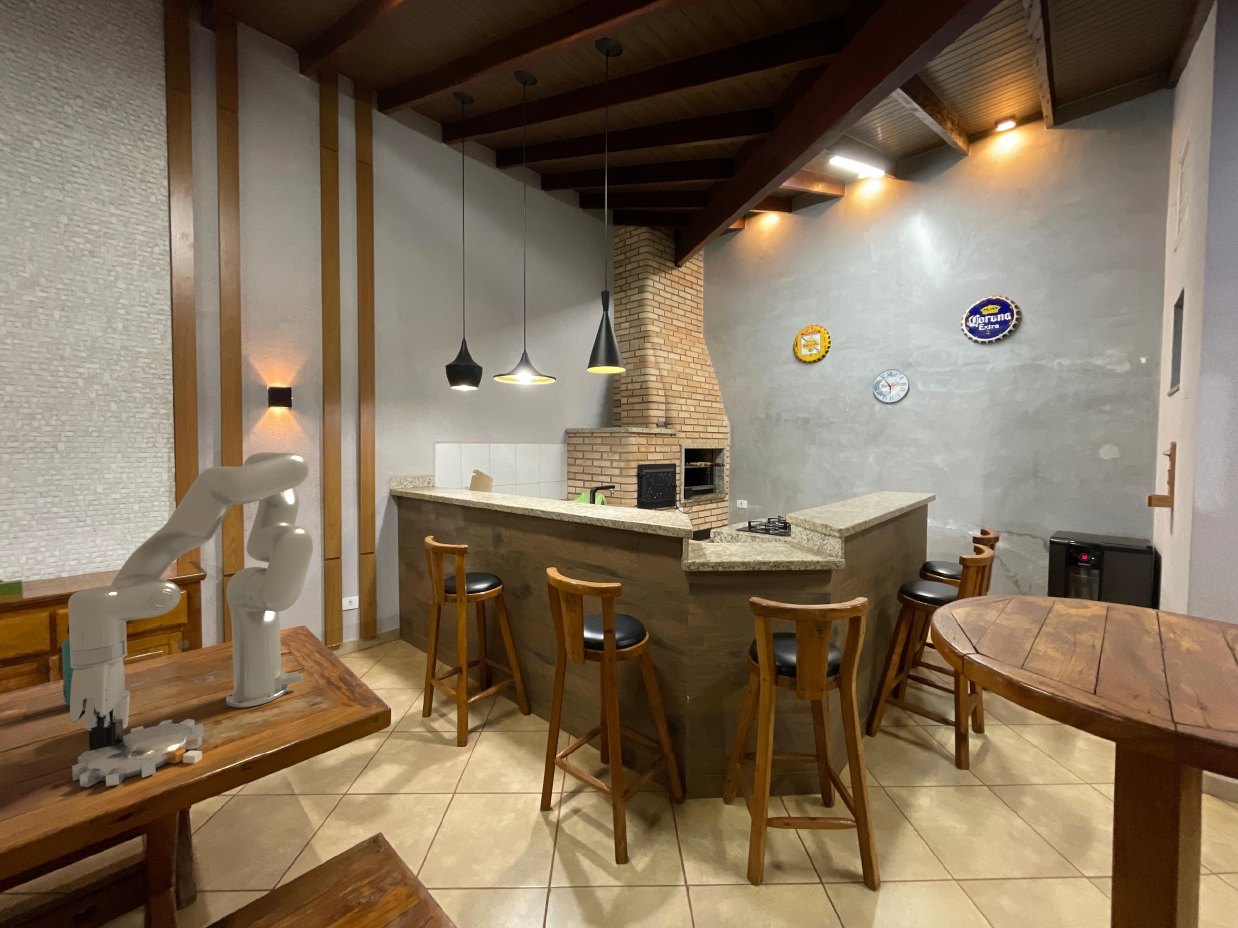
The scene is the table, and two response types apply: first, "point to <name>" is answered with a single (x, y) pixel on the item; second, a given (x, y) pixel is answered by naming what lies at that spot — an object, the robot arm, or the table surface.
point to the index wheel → (138, 752)
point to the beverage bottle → (67, 669)
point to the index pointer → (192, 756)
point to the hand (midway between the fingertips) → (102, 745)
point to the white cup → (123, 709)
